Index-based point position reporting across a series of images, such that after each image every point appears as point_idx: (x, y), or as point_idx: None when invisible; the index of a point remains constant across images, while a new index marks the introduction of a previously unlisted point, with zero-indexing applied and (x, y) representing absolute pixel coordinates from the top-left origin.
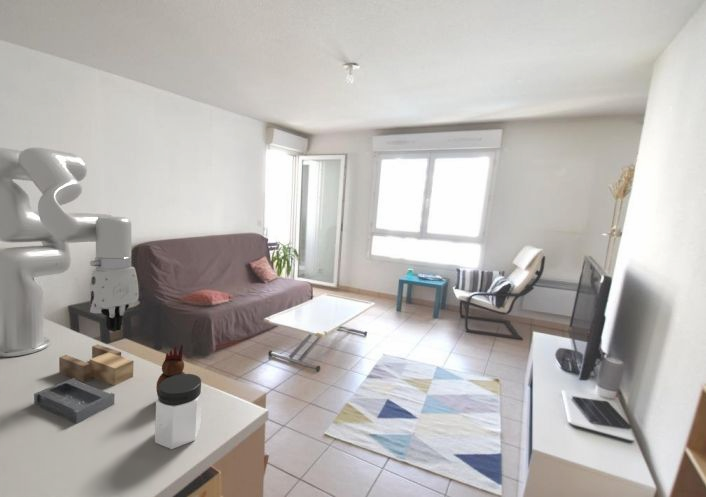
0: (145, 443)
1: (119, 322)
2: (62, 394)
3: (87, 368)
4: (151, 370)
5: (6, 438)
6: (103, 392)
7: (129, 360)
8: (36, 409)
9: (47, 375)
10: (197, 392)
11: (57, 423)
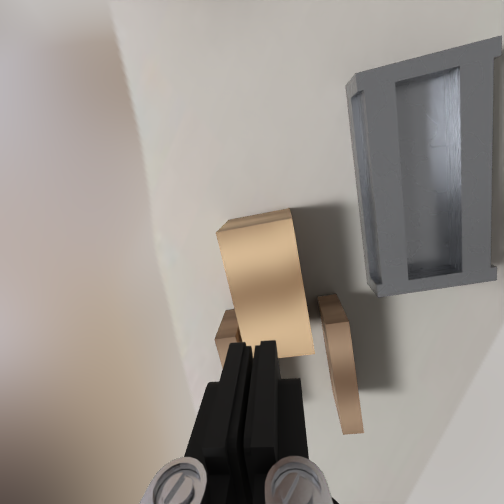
0: None
1: (231, 386)
2: (421, 247)
3: (333, 315)
4: (170, 218)
5: None
6: (372, 118)
7: (225, 245)
8: None
9: (374, 395)
10: None
11: (497, 104)
